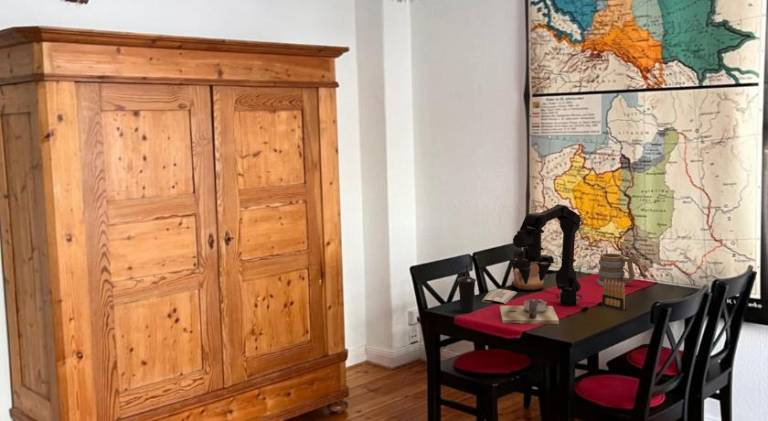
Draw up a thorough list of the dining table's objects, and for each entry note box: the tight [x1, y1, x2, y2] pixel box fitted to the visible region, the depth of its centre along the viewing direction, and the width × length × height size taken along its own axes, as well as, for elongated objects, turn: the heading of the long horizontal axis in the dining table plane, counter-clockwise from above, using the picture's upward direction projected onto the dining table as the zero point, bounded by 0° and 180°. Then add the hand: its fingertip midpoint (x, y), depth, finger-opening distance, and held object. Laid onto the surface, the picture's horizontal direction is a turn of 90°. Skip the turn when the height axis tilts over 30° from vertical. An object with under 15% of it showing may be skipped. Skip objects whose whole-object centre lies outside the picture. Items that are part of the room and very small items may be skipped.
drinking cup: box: [457, 263, 477, 313], centre depth 333 cm, size 8×8×20 cm
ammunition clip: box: [601, 278, 627, 311], centre depth 336 cm, size 11×2×12 cm, turn 40°
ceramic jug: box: [512, 258, 545, 291], centre depth 371 cm, size 18×14×14 cm
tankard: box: [596, 252, 640, 288], centre depth 376 cm, size 20×13×15 cm, turn 43°
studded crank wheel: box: [523, 298, 547, 318], centre depth 323 cm, size 17×9×7 cm, turn 165°
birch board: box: [499, 305, 560, 325], centre depth 325 cm, size 22×22×2 cm
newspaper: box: [481, 288, 518, 305], centre depth 357 cm, size 23×12×2 cm, turn 157°
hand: (533, 282), depth 325 cm, fingers open, 9 cm apart
